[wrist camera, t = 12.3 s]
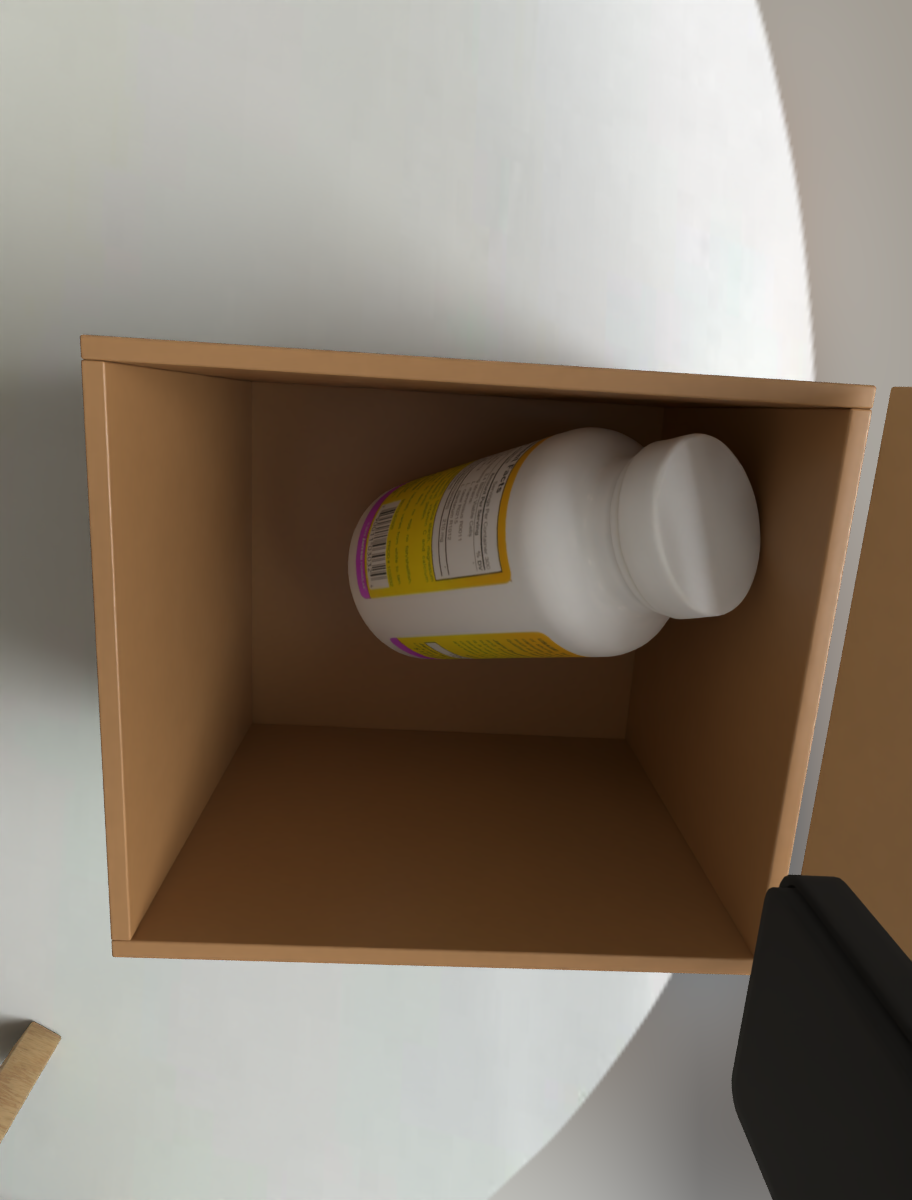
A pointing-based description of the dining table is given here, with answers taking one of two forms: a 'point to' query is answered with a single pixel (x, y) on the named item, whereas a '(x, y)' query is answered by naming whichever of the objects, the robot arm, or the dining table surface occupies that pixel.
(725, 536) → the supplement bottle
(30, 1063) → the planter
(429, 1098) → the dining table surface
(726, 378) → the carton
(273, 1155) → the dining table surface
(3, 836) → the dining table surface
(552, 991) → the dining table surface
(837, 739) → the flap
